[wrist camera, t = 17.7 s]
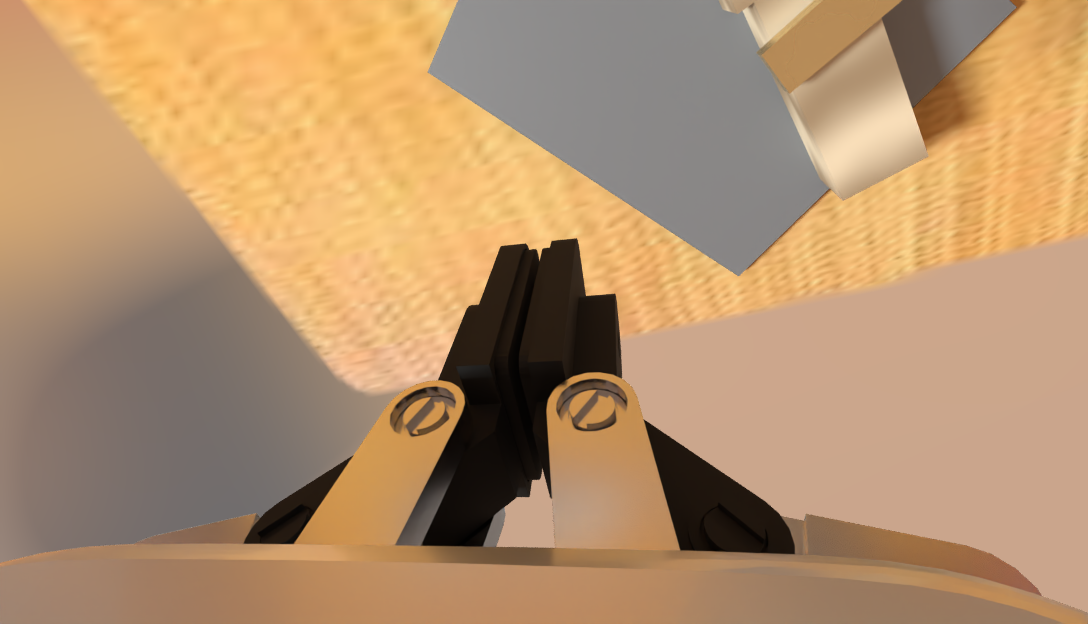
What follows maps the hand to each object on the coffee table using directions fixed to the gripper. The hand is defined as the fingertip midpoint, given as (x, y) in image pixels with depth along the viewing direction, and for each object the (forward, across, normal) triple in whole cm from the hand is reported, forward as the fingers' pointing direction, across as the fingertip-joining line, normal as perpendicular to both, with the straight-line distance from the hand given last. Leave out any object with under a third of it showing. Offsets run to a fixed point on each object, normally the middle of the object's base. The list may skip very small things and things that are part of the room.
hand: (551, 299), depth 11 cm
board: (+24, -6, -1) cm, 24 cm away
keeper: (+23, -12, -2) cm, 26 cm away
